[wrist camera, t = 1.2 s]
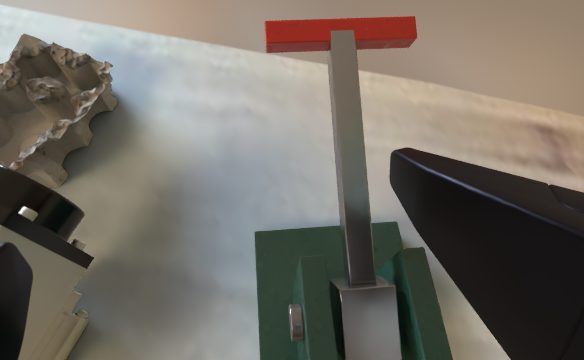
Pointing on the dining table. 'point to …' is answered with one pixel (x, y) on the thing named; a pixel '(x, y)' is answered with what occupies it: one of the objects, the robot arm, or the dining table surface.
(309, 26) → the lever
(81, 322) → the pneumatic valve
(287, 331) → the bracket
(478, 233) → the robot arm
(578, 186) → the dining table surface
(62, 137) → the brown rock
